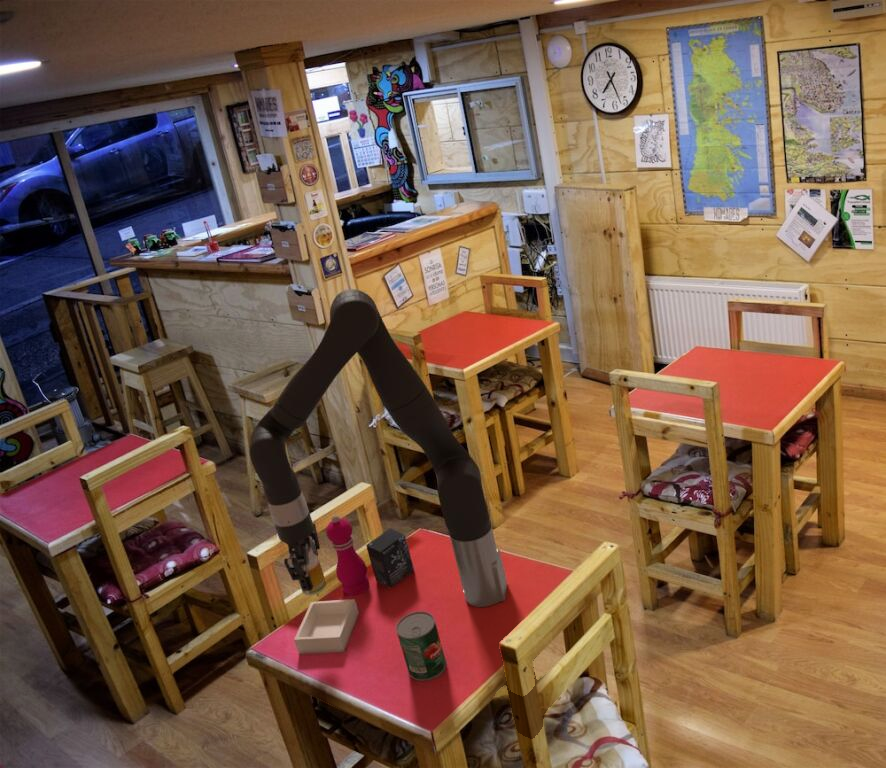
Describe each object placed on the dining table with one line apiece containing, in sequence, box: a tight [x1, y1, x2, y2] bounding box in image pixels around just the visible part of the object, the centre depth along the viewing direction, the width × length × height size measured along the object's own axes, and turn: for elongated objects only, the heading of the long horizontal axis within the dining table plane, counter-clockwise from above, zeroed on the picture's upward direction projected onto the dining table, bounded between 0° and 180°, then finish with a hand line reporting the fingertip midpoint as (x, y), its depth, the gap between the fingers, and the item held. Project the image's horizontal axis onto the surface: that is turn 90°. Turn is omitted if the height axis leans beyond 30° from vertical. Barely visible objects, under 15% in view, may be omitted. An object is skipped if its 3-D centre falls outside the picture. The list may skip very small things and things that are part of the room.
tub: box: [293, 598, 360, 655], centre depth 194 cm, size 10×12×4 cm
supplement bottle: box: [298, 547, 327, 596], centre depth 188 cm, size 5×5×10 cm
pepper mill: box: [325, 514, 370, 596], centre depth 205 cm, size 7×7×20 cm
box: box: [365, 528, 415, 589], centre depth 207 cm, size 8×6×11 cm
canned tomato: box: [395, 610, 447, 682], centre depth 176 cm, size 8×8×11 cm
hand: (312, 580), depth 189 cm, fingers closed on supplement bottle, 5 cm apart
